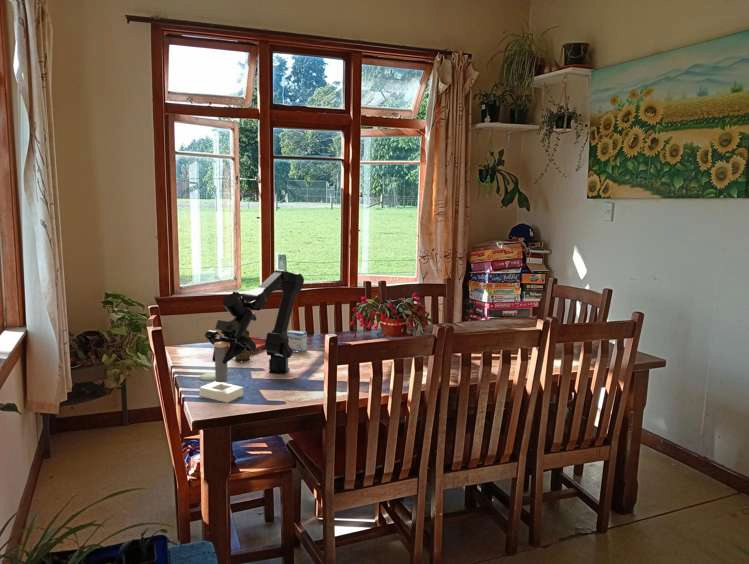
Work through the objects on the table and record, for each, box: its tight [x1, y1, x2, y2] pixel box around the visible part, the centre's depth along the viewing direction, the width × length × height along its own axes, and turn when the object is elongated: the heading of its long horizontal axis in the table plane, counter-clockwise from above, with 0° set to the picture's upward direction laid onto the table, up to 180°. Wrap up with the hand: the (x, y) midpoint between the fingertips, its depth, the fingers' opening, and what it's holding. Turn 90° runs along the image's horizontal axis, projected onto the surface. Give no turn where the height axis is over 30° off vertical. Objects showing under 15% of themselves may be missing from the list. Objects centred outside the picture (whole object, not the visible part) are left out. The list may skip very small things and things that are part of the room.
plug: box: [213, 342, 229, 383], centre depth 199 cm, size 4×4×13 cm
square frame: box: [199, 380, 244, 403], centre depth 201 cm, size 8×12×3 cm, turn 63°
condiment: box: [232, 329, 257, 364], centre depth 243 cm, size 7×8×12 cm
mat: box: [199, 372, 216, 382], centre depth 220 cm, size 8×8×1 cm
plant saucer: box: [227, 336, 266, 355], centre depth 261 cm, size 18×18×3 cm
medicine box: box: [287, 330, 308, 353], centre depth 259 cm, size 8×4×9 cm, turn 73°
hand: (218, 362), depth 198 cm, fingers closed on plug, 4 cm apart
